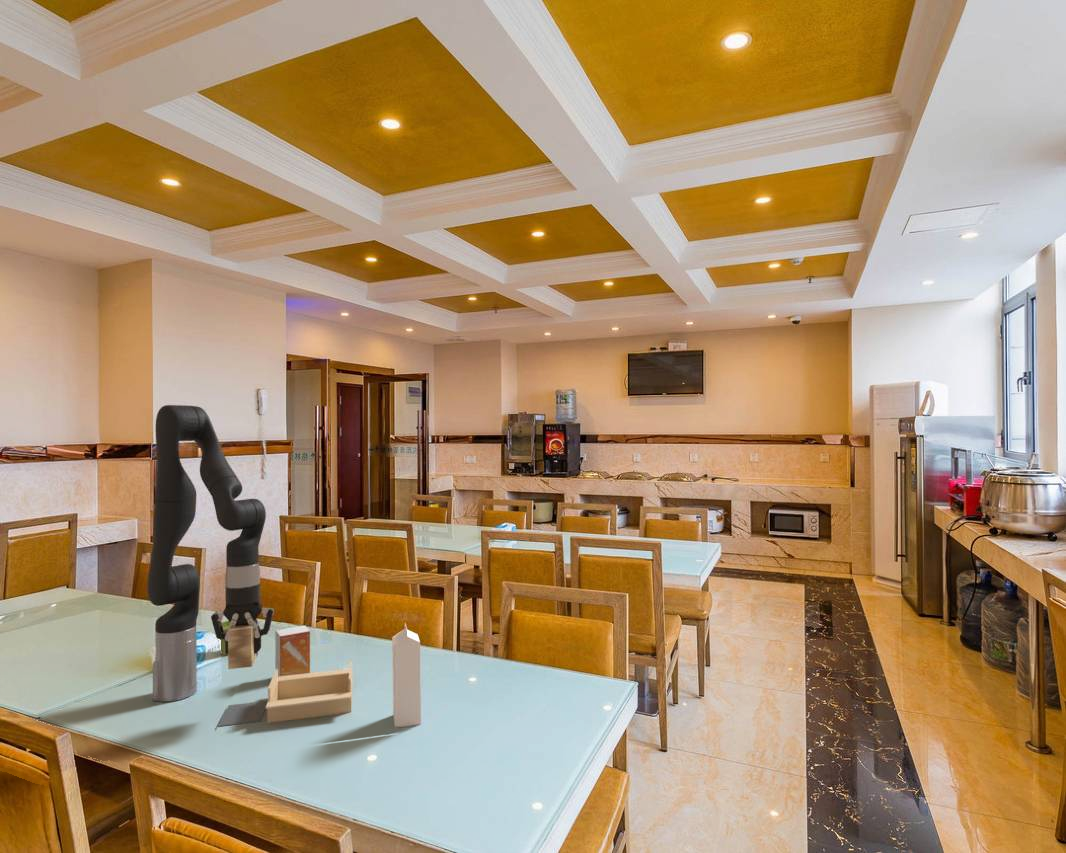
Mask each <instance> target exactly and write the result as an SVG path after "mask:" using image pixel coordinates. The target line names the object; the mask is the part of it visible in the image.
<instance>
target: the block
mask: <svg viewBox="0 0 1066 853" xmlns="http://www.w3.org/2000/svg"><path fill="white" fill-rule="evenodd" d="M254 622H255V621H254ZM254 638H255V636H254V629H253V625H251V626H249V625H242V626H235V627H230V628H229V630H228V655H227V656H228V657H227V660H228V661H227V664H228V665H227V669H228V670H236V669H244V668H245V669H246V668H251V667H253V665H254V663H255V661H256V659H257V657H258V655H259V652H258V653H257V654H254Z"/></svg>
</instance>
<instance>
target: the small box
mask: <svg viewBox="0 0 1066 853" xmlns="http://www.w3.org/2000/svg"><path fill="white" fill-rule="evenodd" d="M274 633H275V637H274V640H275V643H274V644H275V645H274V646H275V647H274V648H275V651H274V652H275V655H274V656H275V657H274V658H275V670H276V669H278V677H279V676H288V675H297V674H306V673H311V630H310V629H309V628H308V627H307V626H306V624H305V625H301V626H292V627H287V628H282V629H275V632H274Z"/></svg>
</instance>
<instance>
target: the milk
mask: <svg viewBox="0 0 1066 853" xmlns="http://www.w3.org/2000/svg"><path fill="white" fill-rule="evenodd" d="M391 640H392V647H391V648H392V714H393V723H394V724H393V725H394V727H395V728H396V727H398V728H404V727H411V726H417V725H418V726H419V725H421V724H422V696H421V695H422V689H421V688H422V686H421V685H422V683H421V680H422V679H421V677H422V676H421V675H422V674H421V673H422V672H421V640H420V638H419V635H418V633H416V632H413V631H412V630H409V629H408V627H407V624H406V622H404V629H402V630H401V631H399V632H398V633H397V634H395V635H394V636H392V637H391Z"/></svg>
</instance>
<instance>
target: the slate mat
mask: <svg viewBox="0 0 1066 853" xmlns="http://www.w3.org/2000/svg"><path fill="white" fill-rule="evenodd" d="M267 703H268V700H262V701H253V702H245V703H237V704H230V705H228V706H227V708H226V710H225V712H224V714H223V716H222V718H221V719H220V722H219V723H218V725H217V727H218V728H220V727H228V726H229V727H230V726H237V725H238V726H239V725H244V724H251V723H260V722H262V719H263V716H264V714H265V711H266V710H267V709H266V705H267Z"/></svg>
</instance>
